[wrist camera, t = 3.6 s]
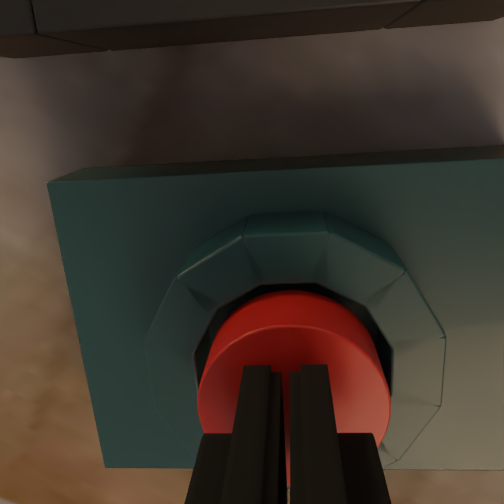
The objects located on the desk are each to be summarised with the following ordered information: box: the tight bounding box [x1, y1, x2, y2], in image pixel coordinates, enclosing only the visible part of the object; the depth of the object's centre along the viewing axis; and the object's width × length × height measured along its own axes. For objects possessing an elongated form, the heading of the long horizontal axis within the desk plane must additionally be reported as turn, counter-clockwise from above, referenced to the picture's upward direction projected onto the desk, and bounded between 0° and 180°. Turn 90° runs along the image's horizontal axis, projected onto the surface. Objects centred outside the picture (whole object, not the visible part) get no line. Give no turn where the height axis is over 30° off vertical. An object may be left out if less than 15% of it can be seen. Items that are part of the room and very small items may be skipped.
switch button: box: [197, 290, 391, 486], centre depth 11 cm, size 4×4×2 cm
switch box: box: [47, 145, 504, 489], centre depth 13 cm, size 12×9×4 cm
